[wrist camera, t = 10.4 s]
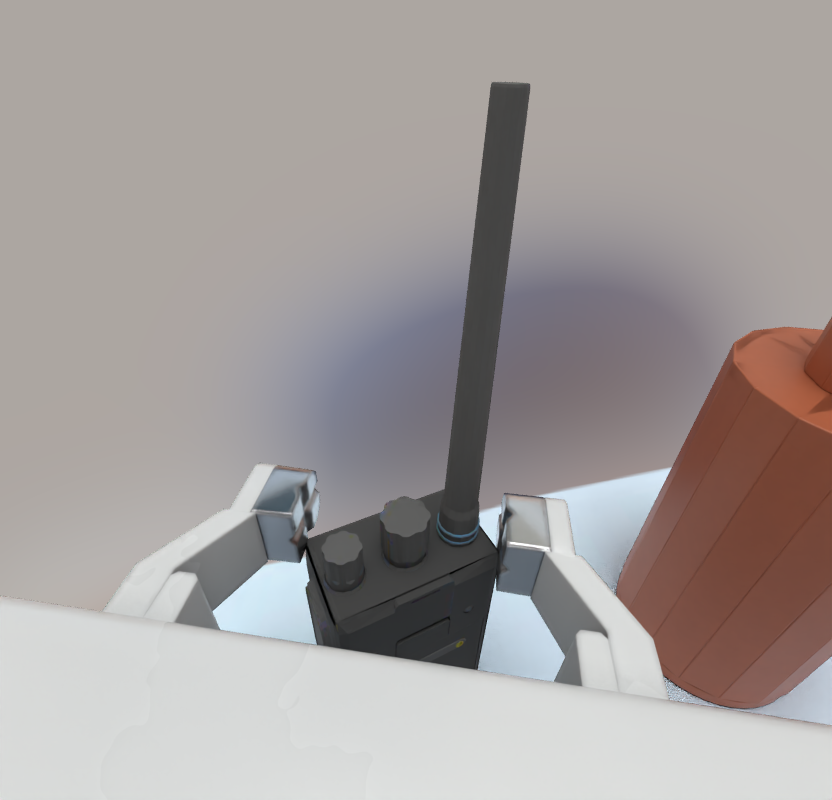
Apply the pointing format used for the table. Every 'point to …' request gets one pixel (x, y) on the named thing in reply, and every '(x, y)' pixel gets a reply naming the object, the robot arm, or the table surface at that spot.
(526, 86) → the walkie-talkie
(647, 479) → the table surface
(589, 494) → the table surface
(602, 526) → the table surface
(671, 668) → the bottle
